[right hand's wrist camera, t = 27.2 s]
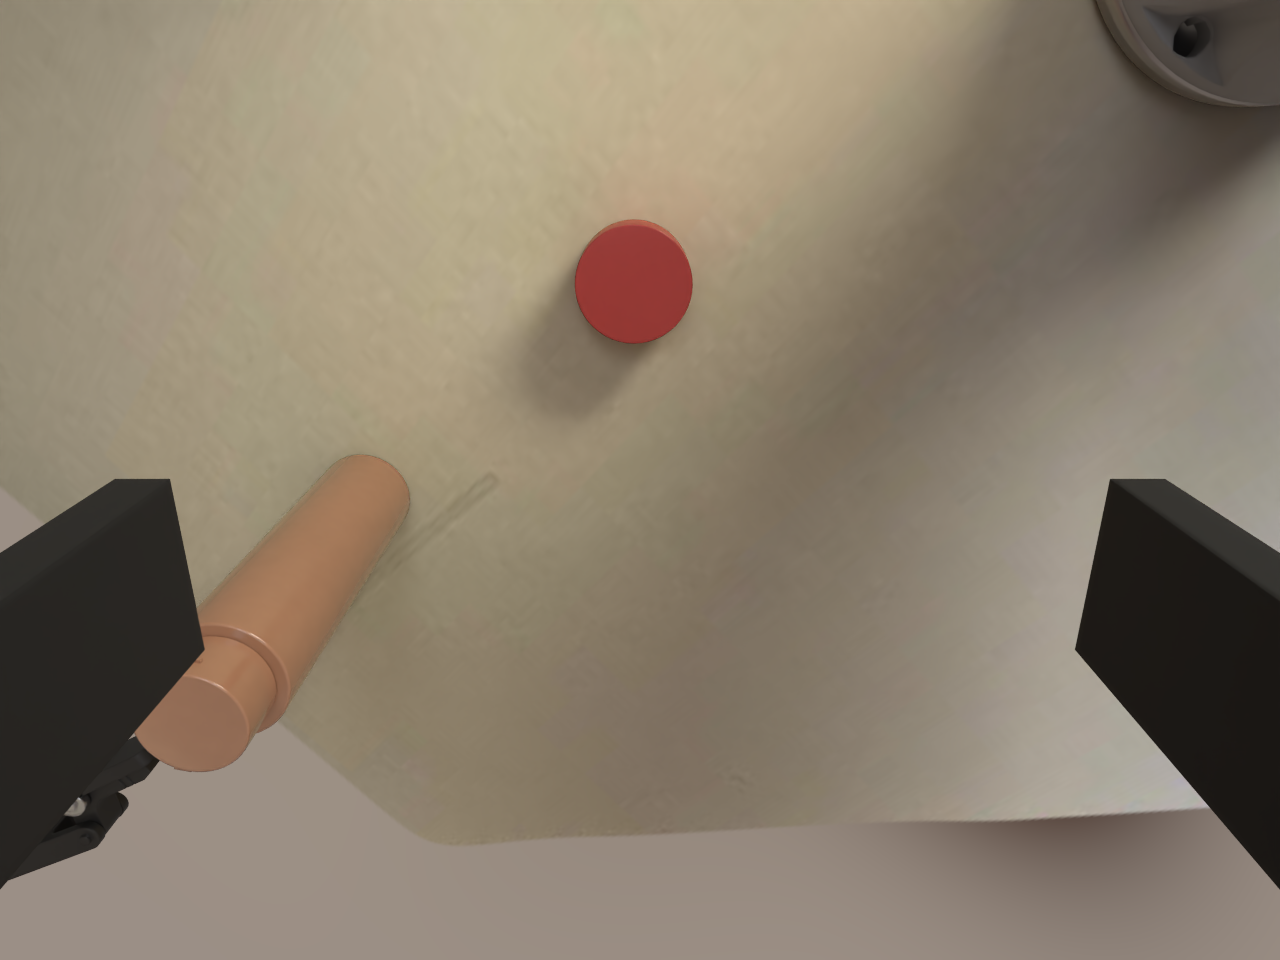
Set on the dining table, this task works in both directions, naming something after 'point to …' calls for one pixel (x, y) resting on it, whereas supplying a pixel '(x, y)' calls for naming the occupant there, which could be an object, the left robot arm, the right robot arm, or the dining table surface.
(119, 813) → the left robot arm
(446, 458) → the dining table surface
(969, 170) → the dining table surface
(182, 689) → the tan tall cylinder
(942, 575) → the dining table surface
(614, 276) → the lid
